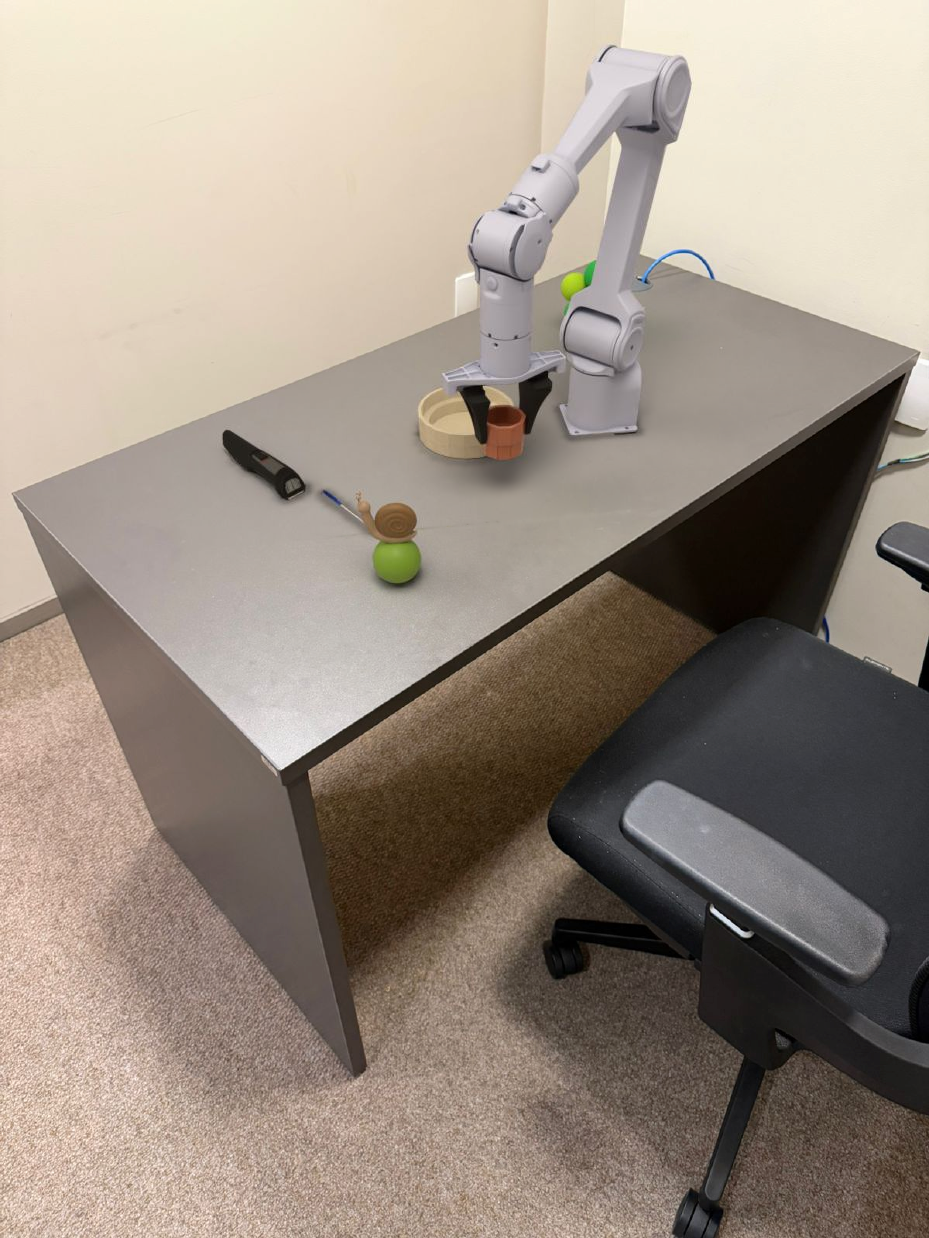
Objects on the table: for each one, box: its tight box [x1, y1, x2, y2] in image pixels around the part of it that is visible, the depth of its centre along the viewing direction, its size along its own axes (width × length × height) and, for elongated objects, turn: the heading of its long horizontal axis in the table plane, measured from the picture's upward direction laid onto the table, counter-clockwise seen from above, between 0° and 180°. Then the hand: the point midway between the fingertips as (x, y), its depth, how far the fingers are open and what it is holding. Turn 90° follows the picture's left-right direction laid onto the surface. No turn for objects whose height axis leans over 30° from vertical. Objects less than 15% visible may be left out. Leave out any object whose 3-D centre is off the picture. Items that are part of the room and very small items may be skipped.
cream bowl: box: [417, 385, 515, 460], centre depth 118 cm, size 13×13×4 cm
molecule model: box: [560, 259, 597, 318], centre depth 135 cm, size 9×9×9 cm
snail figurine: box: [355, 490, 422, 584], centre depth 94 cm, size 5×6×12 cm
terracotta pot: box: [482, 405, 526, 461], centre depth 104 cm, size 5×5×4 cm
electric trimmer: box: [221, 429, 306, 500], centre depth 113 cm, size 4×16×3 cm, turn 43°
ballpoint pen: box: [320, 489, 364, 524], centre depth 107 cm, size 10×1×1 cm, turn 43°
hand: (503, 435), depth 104 cm, fingers closed on terracotta pot, 5 cm apart
